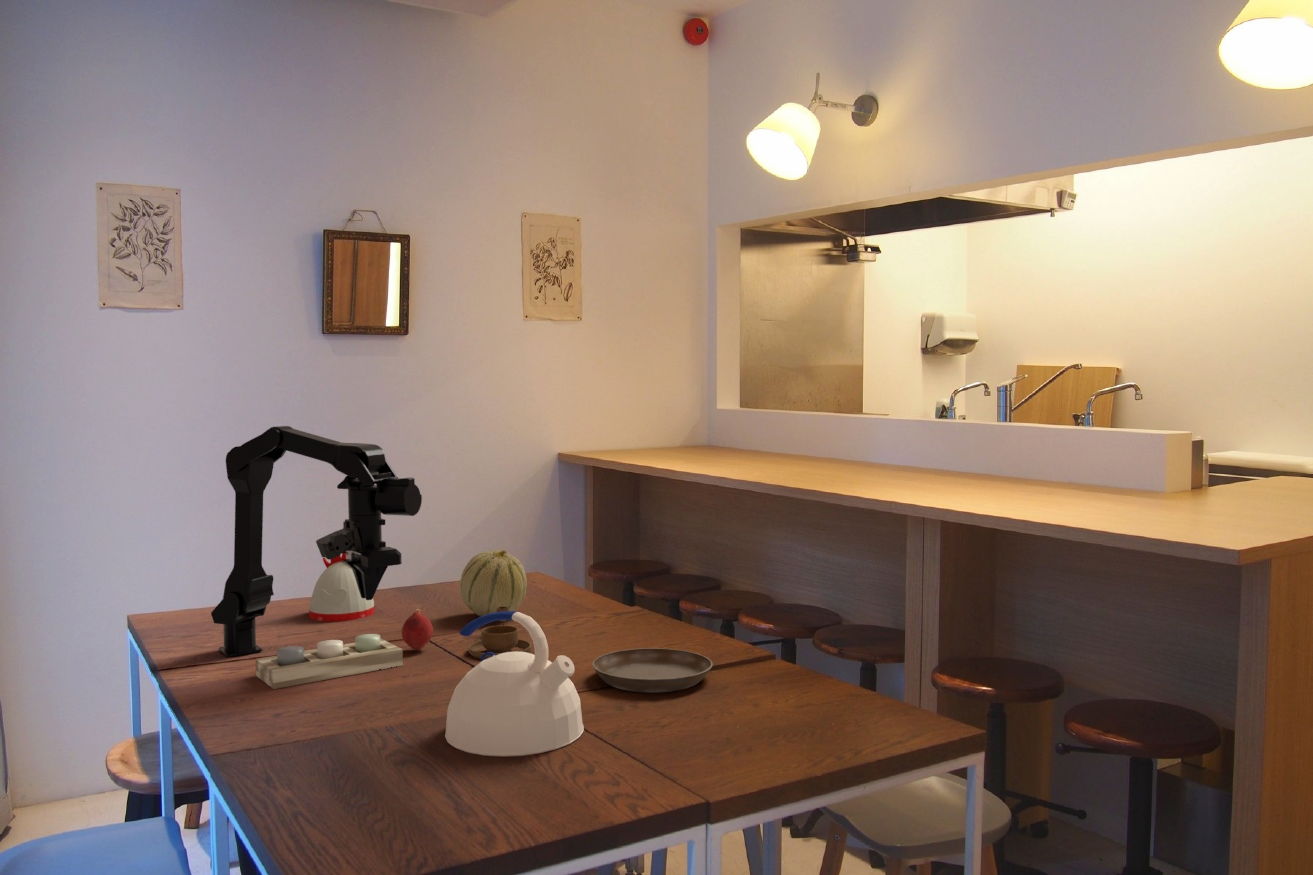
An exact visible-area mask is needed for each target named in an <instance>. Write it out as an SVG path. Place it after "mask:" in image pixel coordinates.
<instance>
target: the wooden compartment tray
mask: <svg viewBox="0 0 1313 875" xmlns="http://www.w3.org/2000/svg"><path fill="white" fill-rule="evenodd" d="M380 648H381V649H380V650H375V651H369V652H363V653H358V652H356V648H355V642H351V643H350V642H349V643H346V644H344V643H343V656H340V657H334V658H328V659H318V658H317V648H314V649H309V650H304V663H299V664H293V665H287V666H279V665H277V655H272V656H265V657H260V658H255V676H256V677H257V678H258V679H260V680H261V681H262V682H263V683H265V684H266V685H267V686H269V687H271V688H272V689H273V690H275V689H276V690H277V689H281V688H287V687H292V686H298V685H305V684H310V683H315V682H320V681H325V680H331V679H336V678H341V677H347V676H348V677H349V676H353V675H358V674H365V673H369V672H374V671H380V670H379V669H381V670H385V669H391V667H392V668H396V666H397V667H403V666H404V663H403V662H404V661H403V660H404V659H403V658H404V657H403V656H404V654H403V651H404V650H403V648H402V647H399V646H397V645H395V644H393V643H390V641H387V640H385V639H383V638H380Z"/></svg>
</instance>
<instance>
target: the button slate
mask: <svg viewBox="0 0 1313 875" xmlns="http://www.w3.org/2000/svg"><path fill="white" fill-rule="evenodd" d="M304 651H305V649H304V647H303V646H299V645H294V646H293V645H291V646H289V645H288V646H284V647H280V648H278V649H277V650H276V656H277V665H279V666H287V665H293V664H299V663H304Z"/></svg>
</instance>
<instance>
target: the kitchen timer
mask: <svg viewBox="0 0 1313 875" xmlns="http://www.w3.org/2000/svg"><path fill="white" fill-rule="evenodd" d="M343 559H346V553H342V554H341V555H340V556H337V557H336V558H333V559H330V562H329V561H328V559H327V558H325V557H322V561H323V563H324V565H325V567H326V568H325V569H324V570H323V571H322V573H321V574H320V576H319V577H318V579H317V581H316V583H315V584H314V589H313V591H312V594H311V598H310V602H309V608H308V610H309V611H308V613H309V615H308V616H309V617H308V618H310V619H311V620H313V619H314V621H318V622H319V621H320V622H345V621H346V622H347V621H353V620H354V619H355V620H359V619H358V618H361V619H364V617H365V618H368V617H370V616H369V615H371V616H373V615H374V614H375V600H374V598H373V599H372V600H366V598H361V595H360V592H359V589H358V585H357V582H356V579H355V576H354V573H353V570H352V569H351V568H350V567H349V566H348V565H347V564H345V563H344V562H343V561H342V560H343ZM373 613H374V614H373ZM367 616H368V617H367ZM355 620H354V621H355Z"/></svg>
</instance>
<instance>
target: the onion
mask: <svg viewBox="0 0 1313 875" xmlns="http://www.w3.org/2000/svg"><path fill="white" fill-rule="evenodd" d="M433 628H434V627H433V623H432V622H431V621H430V620H429V618H428V617H427V616H425V615H424V614H422V610H421V609H419V608H417V609H415V610H414V612H413V613H412V614H411V615H410V616H409V617H408V618H407V619H406V620H405V621H404V623H403V625H402V627H401V636H402V639H403V641H404V643H405V644H407V646H408V647H410V648H411V649H413V650H415V651H416V652H419V651H421V650H422V649H423V648H424V647H425V646H427V644H429V642H430V641H431V640H432V638H433V633H434V629H433Z"/></svg>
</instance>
